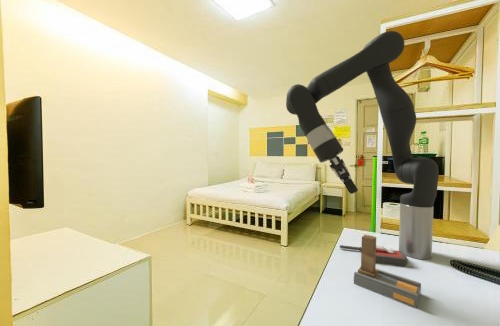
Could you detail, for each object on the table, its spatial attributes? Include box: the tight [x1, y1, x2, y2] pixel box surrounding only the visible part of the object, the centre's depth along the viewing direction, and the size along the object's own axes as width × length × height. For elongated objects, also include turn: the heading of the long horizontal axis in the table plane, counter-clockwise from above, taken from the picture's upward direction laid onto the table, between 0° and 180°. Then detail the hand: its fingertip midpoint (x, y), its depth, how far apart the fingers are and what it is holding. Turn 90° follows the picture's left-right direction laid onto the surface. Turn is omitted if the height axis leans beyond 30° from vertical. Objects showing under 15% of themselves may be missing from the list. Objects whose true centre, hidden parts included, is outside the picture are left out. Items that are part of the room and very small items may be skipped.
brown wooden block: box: [357, 234, 380, 279], centre depth 59 cm, size 4×4×10 cm
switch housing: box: [353, 267, 422, 309], centre depth 56 cm, size 7×14×3 cm, turn 46°
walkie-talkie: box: [339, 244, 408, 268], centre depth 74 cm, size 9×4×20 cm
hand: (353, 191), depth 62 cm, fingers open, 8 cm apart
